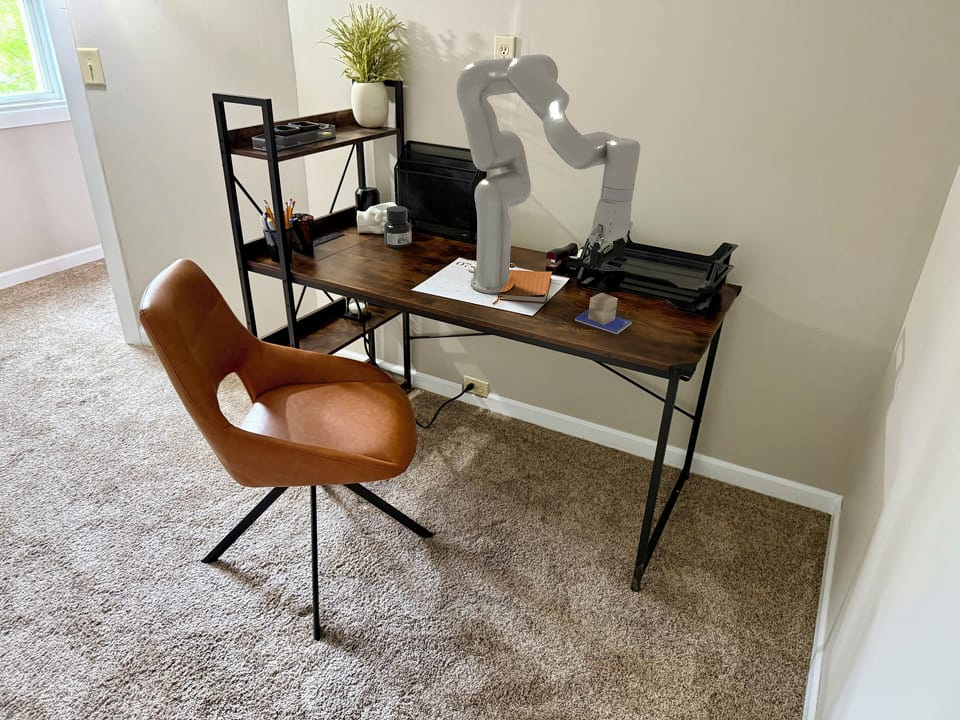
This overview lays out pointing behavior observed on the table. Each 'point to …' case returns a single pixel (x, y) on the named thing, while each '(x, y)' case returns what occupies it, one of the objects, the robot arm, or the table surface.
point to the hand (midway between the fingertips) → (606, 261)
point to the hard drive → (612, 326)
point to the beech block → (602, 308)
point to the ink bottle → (397, 227)
